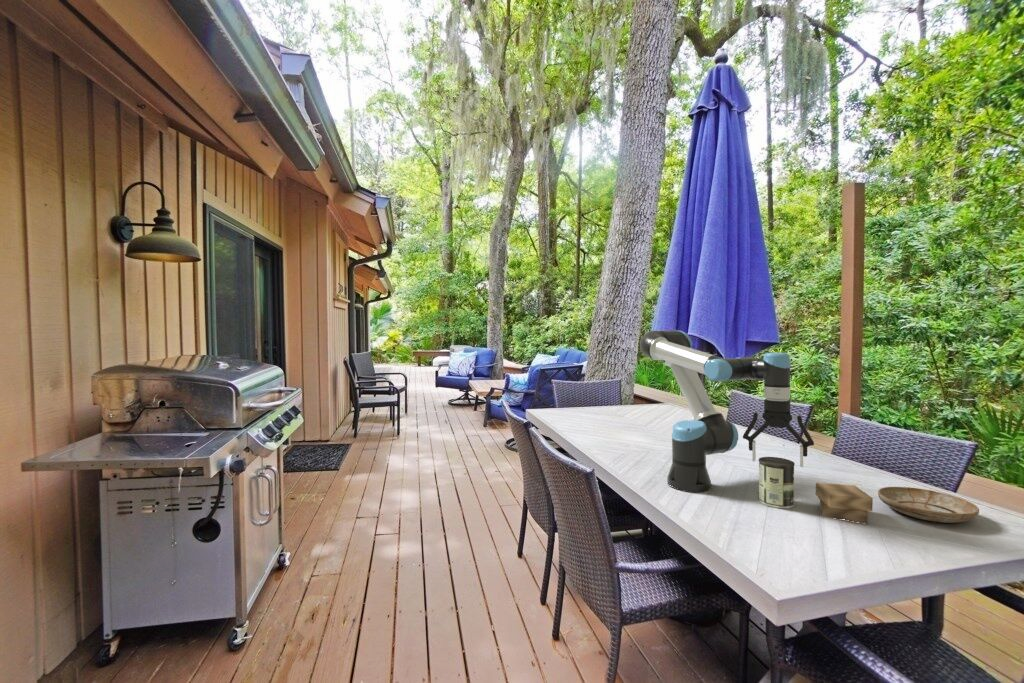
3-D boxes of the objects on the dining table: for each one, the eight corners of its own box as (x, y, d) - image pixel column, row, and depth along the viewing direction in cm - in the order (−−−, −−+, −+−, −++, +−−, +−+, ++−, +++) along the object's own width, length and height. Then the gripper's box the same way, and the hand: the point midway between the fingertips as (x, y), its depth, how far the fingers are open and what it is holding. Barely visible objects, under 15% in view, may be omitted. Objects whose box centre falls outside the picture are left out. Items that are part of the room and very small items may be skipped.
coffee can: (786, 498, 154) (787, 457, 153) (799, 509, 144) (800, 466, 143) (754, 496, 156) (754, 455, 155) (764, 507, 146) (764, 464, 145)
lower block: (822, 518, 138) (822, 505, 138) (819, 505, 148) (820, 493, 148) (867, 525, 133) (867, 512, 133) (861, 512, 142) (862, 500, 142)
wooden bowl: (977, 513, 140) (977, 497, 140) (980, 539, 123) (980, 521, 123) (881, 494, 157) (882, 480, 156) (872, 514, 140) (873, 499, 140)
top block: (829, 507, 136) (830, 494, 136) (815, 494, 147) (815, 482, 147) (872, 511, 134) (872, 498, 133) (854, 497, 144) (854, 485, 144)
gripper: (734, 398, 152) (734, 460, 152) (823, 403, 139) (823, 471, 139) (736, 395, 158) (736, 455, 159) (821, 400, 145) (822, 465, 146)
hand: (777, 463), depth 149 cm, fingers open, 13 cm apart
